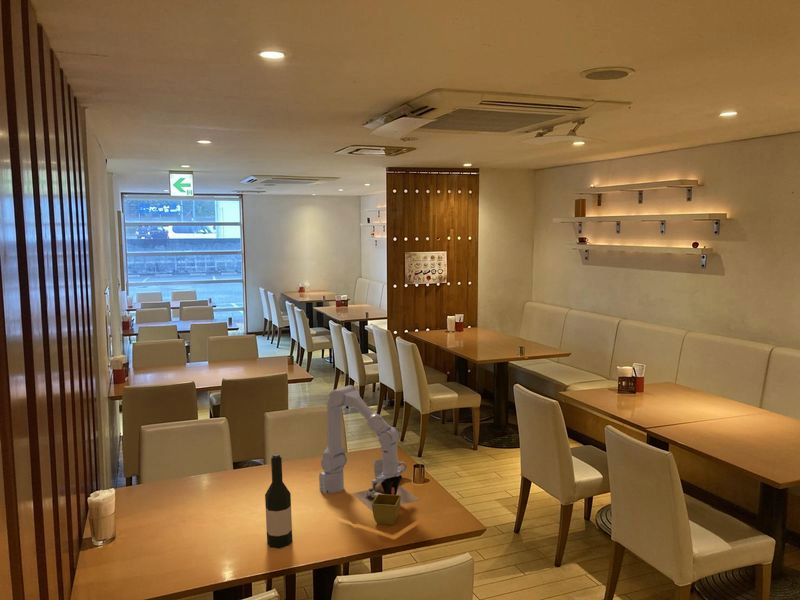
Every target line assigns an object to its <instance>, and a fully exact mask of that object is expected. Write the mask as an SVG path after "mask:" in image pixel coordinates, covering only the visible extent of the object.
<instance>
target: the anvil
mask: <svg viewBox="0 0 800 600" xmlns="http://www.w3.org/2000/svg"><path fill="white" fill-rule="evenodd" d="M377 484H378V483H376V478H372V479H371V488H372V489H374V490H375V486H376V485H377ZM375 491H376V490H375Z"/></svg>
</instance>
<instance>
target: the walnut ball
mask: <svg viewBox="0 0 800 600" xmlns="http://www.w3.org/2000/svg"><path fill="white" fill-rule="evenodd" d="M375 490H376V491H377V492H378V493H381V492H383V491H384V490H383V487H382V485H381V484H380V483H378V484H377V485H376V486H375Z"/></svg>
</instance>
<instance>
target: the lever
mask: <svg viewBox="0 0 800 600" xmlns="http://www.w3.org/2000/svg"><path fill="white" fill-rule="evenodd" d="M377 494H381V493H377V492H375V490H374V489H372V487H371V488H368V489H367V490H366V495H367V497H372V498H375V497H376V496H377ZM391 495H395V487H394V486H393V485H392V492H391Z"/></svg>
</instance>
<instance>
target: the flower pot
mask: <svg viewBox="0 0 800 600" xmlns="http://www.w3.org/2000/svg"><path fill="white" fill-rule="evenodd" d="M400 500H401V496H400V495H386V494H377V496H376V497H375V499H374V501H373V502H372V510H373V511H372V510H371V511H372V515H373V519H374V521H375V524H377V525H388V526H389V525H390V526H393V525H395V522H396V521H397V518H398V517H399V513H400V509H401V504H400Z"/></svg>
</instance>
